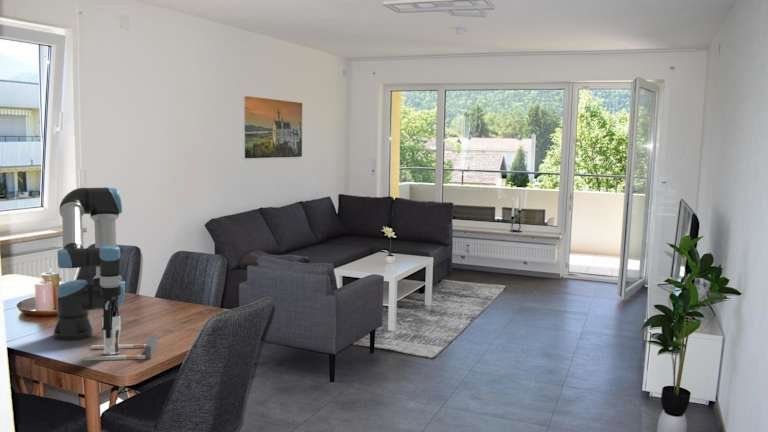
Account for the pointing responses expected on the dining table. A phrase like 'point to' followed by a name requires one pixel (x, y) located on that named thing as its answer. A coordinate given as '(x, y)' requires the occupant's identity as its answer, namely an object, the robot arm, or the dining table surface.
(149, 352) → the guide track
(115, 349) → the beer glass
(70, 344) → the dining table surface
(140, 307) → the dining table surface
